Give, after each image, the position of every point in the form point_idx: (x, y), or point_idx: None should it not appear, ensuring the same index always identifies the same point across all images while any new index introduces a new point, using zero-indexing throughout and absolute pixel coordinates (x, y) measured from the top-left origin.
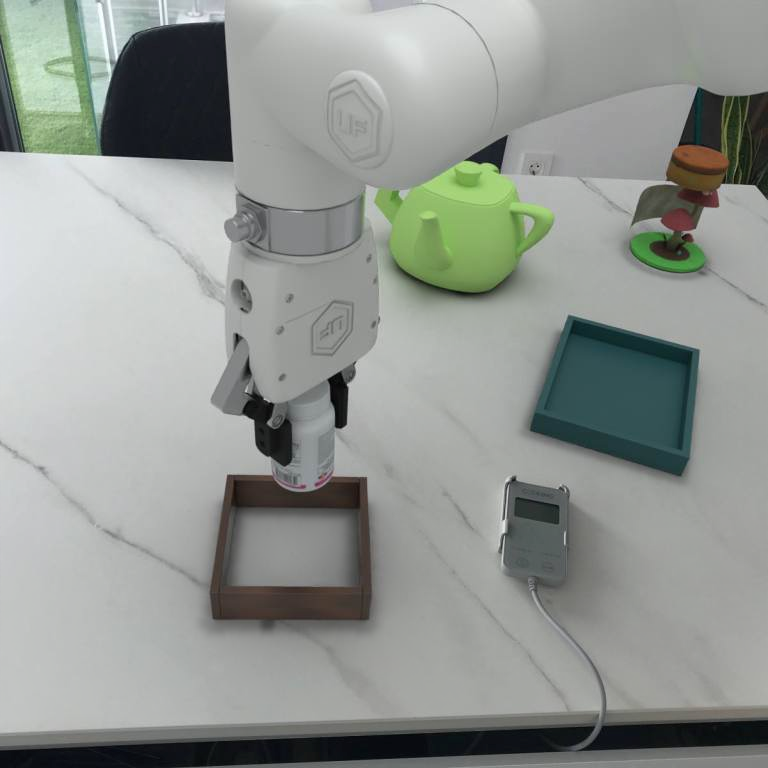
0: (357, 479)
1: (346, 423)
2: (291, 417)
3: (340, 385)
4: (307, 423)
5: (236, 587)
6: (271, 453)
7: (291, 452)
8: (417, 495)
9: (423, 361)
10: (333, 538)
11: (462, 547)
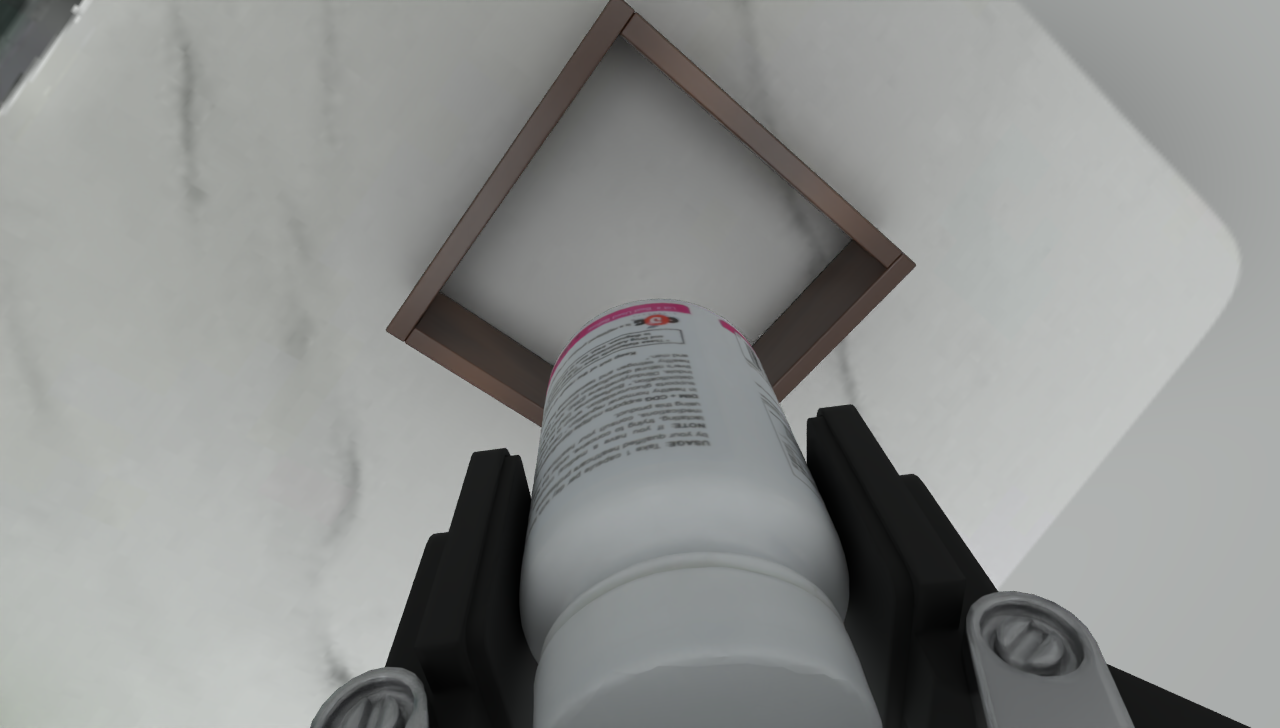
0: (413, 337)
1: (475, 458)
2: (836, 610)
3: (454, 674)
4: (757, 539)
5: (864, 241)
6: (913, 481)
7: (830, 443)
8: (273, 234)
9: (20, 558)
10: (539, 253)
11: (250, 15)
